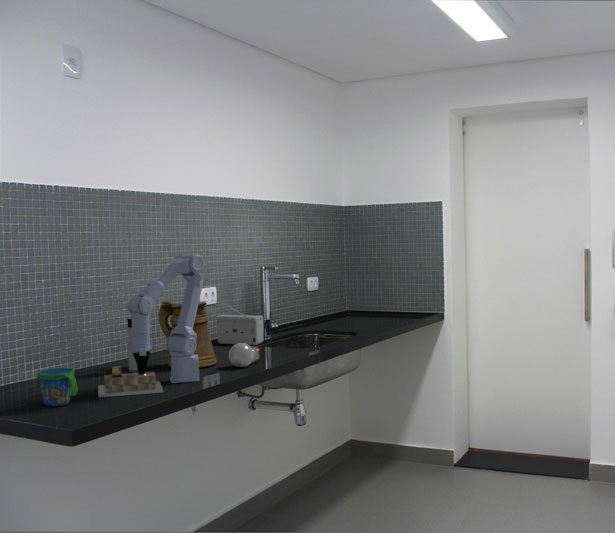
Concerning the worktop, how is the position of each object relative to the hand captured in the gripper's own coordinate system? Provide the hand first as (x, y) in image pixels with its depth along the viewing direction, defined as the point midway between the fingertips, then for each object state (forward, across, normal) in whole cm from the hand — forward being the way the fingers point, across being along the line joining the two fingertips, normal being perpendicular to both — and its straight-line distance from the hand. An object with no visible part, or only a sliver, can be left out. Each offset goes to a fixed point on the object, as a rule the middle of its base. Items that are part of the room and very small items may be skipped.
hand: (142, 374), depth 236 cm
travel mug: (+5, -34, 0) cm, 34 cm away
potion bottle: (+5, -30, +40) cm, 50 cm away
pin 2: (+3, 0, 0) cm, 3 cm away
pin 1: (+1, 0, -8) cm, 8 cm away
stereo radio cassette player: (+5, -86, +49) cm, 99 cm away
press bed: (+5, 0, -4) cm, 6 cm away
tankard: (+5, -40, +19) cm, 45 cm away
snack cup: (+5, +12, -26) cm, 29 cm away
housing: (+5, 0, -4) cm, 6 cm away
